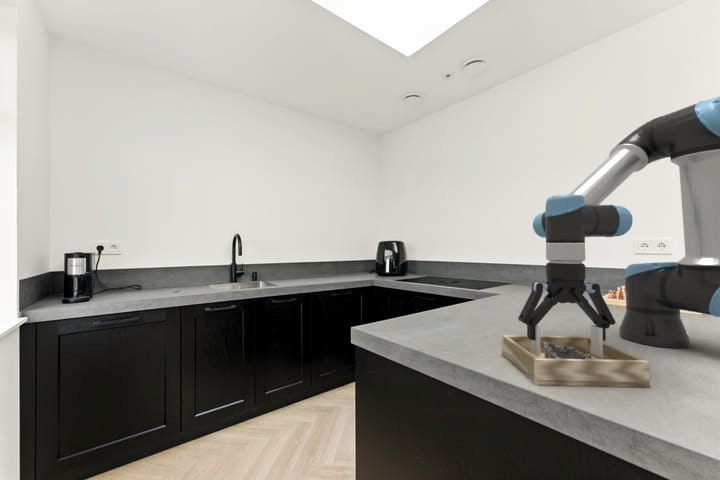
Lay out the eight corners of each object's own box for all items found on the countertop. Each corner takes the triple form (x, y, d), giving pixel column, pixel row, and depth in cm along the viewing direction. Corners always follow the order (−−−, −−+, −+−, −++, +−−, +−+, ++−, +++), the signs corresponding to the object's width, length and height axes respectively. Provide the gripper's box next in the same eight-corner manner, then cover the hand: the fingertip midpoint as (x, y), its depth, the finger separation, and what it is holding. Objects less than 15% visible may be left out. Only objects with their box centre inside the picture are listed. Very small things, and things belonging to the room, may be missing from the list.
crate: (589, 356, 78) (589, 336, 78) (649, 387, 61) (649, 362, 61) (501, 354, 79) (501, 335, 79) (536, 384, 62) (536, 360, 62)
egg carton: (594, 376, 63) (594, 357, 63) (552, 371, 66) (552, 352, 66) (577, 358, 73) (577, 341, 73) (541, 354, 76) (541, 338, 76)
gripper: (608, 261, 73) (609, 349, 73) (502, 261, 74) (503, 348, 74) (635, 263, 66) (636, 361, 65) (517, 262, 67) (518, 359, 67)
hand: (566, 354), depth 70 cm, fingers open, 13 cm apart
